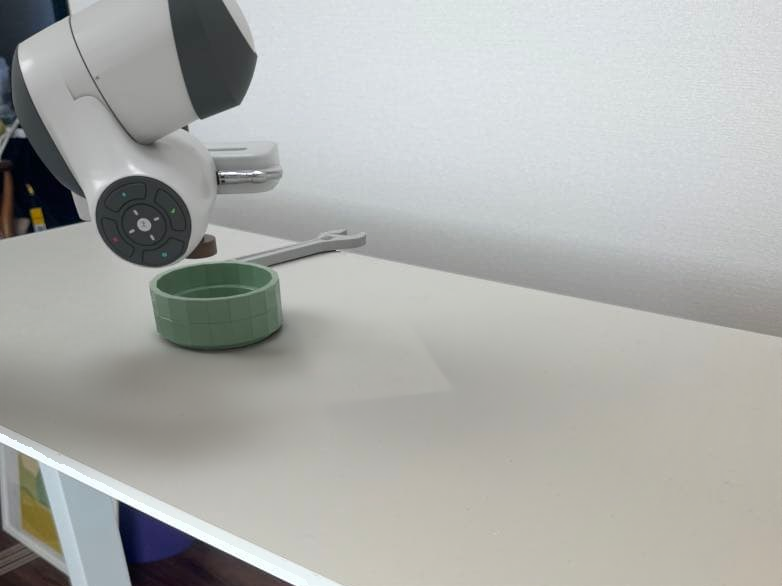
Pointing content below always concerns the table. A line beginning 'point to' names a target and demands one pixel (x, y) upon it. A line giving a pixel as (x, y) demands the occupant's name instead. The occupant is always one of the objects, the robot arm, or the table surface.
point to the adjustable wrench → (306, 248)
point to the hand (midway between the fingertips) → (183, 153)
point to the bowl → (217, 304)
